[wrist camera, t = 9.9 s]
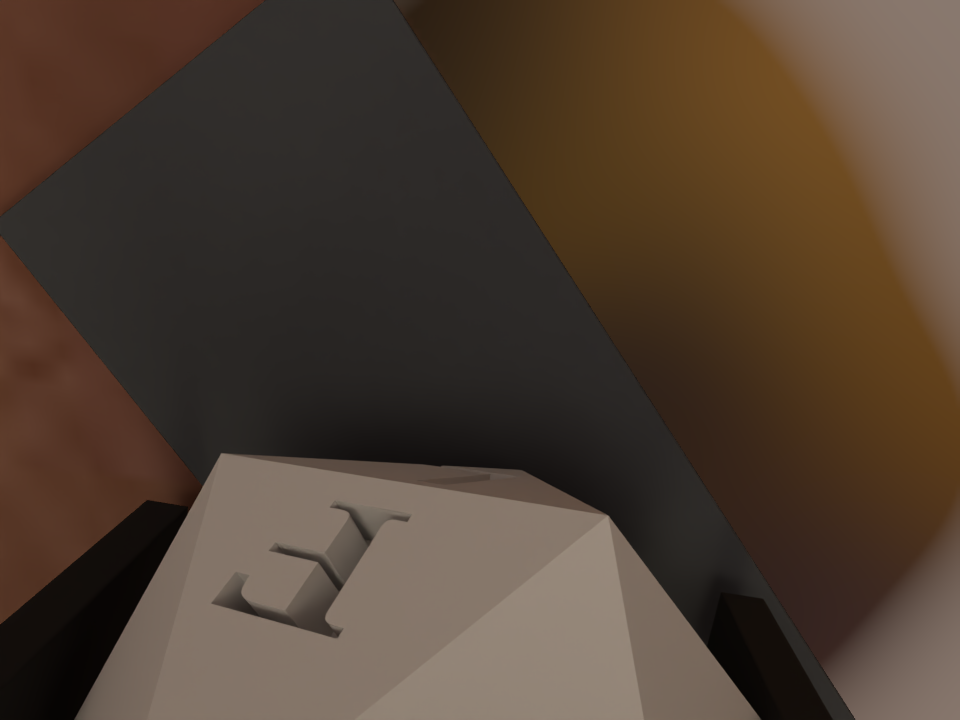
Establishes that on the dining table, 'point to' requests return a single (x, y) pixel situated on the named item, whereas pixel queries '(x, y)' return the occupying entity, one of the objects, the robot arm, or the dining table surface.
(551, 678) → the die
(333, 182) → the edge mat
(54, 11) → the dining table surface
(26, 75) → the dining table surface
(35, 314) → the dining table surface
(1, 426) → the dining table surface
